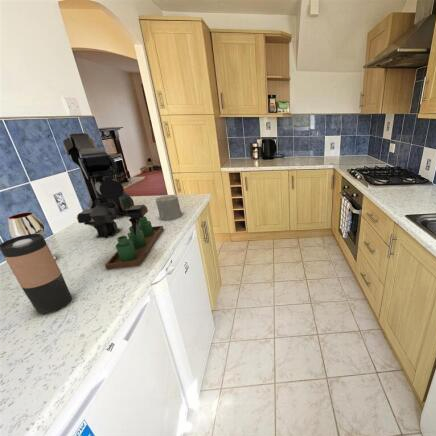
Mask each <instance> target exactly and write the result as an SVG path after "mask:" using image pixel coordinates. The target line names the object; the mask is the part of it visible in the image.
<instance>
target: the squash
mask: <svg viewBox="0 0 436 436" xmlns="http://www.w3.org/2000/svg"><path fill="white" fill-rule="evenodd" d="M120 200H121V203H122V204H124V206H125V207H124V208H123V209H130V208H131V207H132V206H133V205H135V202H134V200H133V198H132V196H130V195H129V194H128V193H127V192H126V191H124V192H123V194H122V196H121V197H120Z"/></svg>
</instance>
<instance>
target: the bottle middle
mask: <svg viewBox="0 0 436 436" xmlns="http://www.w3.org/2000/svg"><path fill="white" fill-rule="evenodd" d="M128 230H129V232H128V233H127V235H126V236H127V238H128V239H129V241H132V242H133V245H134V248H135V249H139V248H142V247H144V246H145V245H146V241H145V238H144V234H143V231H142V230H139V229H138V234H137V235H135V234H134V232H133V228H132V225H131V226H129V227H128Z"/></svg>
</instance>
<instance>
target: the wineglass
mask: <svg viewBox="0 0 436 436" xmlns="http://www.w3.org/2000/svg"><path fill="white" fill-rule="evenodd" d="M7 221H8V230H9V234H10V236H11V237H12V239H13V238H16V237H19V236H23V235H28V234H41V235H42V236H43V237H44V235H45V233H46V226H45V225H44V223H43V222H42V221H41V220H40V218H38V217H37V216H36V215H35V213H34V212H31V211H29V212H20V213H17V214H14V215H10V216H8V217H7ZM53 257H54V259H55V261H56V260H57V257H56V256H53Z"/></svg>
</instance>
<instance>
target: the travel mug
mask: <svg viewBox="0 0 436 436" xmlns="http://www.w3.org/2000/svg"><path fill="white" fill-rule="evenodd" d="M0 252H1V254H2V255H3V257H4V259H5V261H6V263H7V264H8V266H9V268H10V270H11V272H12V273H13V276H14V277H15V279H16V280H17V283H18V284H19V286H20V287H21V290H22V291H23V292H24V294H25V296H26V297H27V298H28V300H29V301H30V303H31V305H32V307H33V308H34V309H35V311H36V312H37V313H38V314H40V315H48V314H52V313H55V312H57V311H59V310H62V309H63V308H65V307H66V306H68V305H69V304H70V303H71V301H72V298H73V297H72V295H71V292H70V290H69V287H68V285H67V283H66V281H65V278H64V276H63V274H62V272H61V269H60V268H59V265H58V263H57V262H56V260H55V259H54V257H55V256H54V255H53V253H52V251H51V250H50V247H49V245H48V243H47V241H46V239H45V237H44V235H43V236H42V235H41V234H28V235H23V236H19V237H16V238H13V237H12V238H10V239H7V240H6V241H2V243H0Z"/></svg>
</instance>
